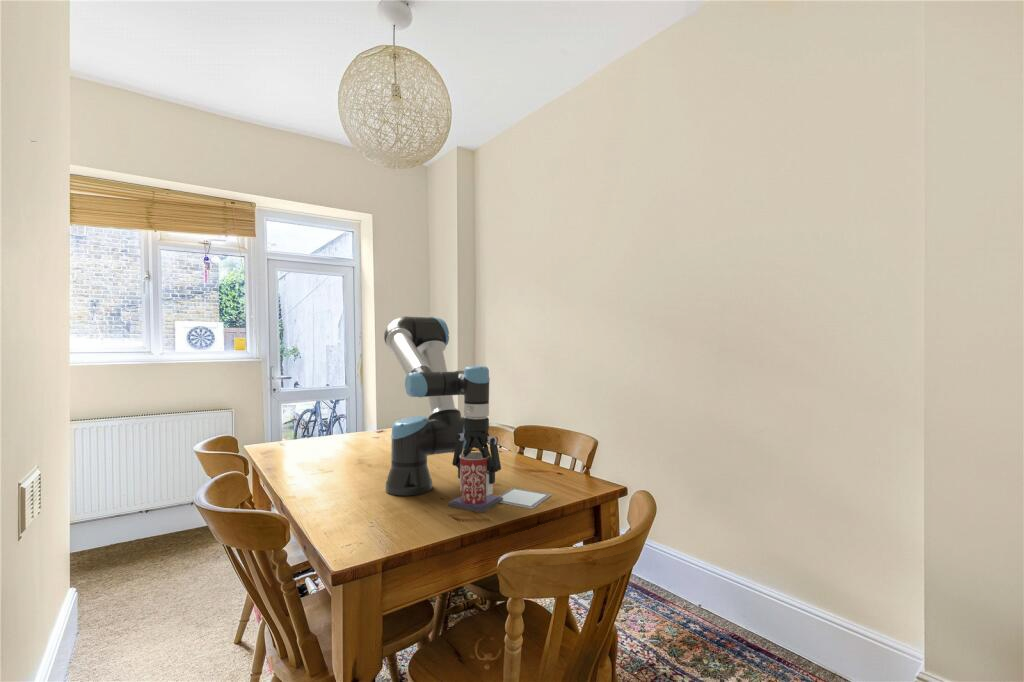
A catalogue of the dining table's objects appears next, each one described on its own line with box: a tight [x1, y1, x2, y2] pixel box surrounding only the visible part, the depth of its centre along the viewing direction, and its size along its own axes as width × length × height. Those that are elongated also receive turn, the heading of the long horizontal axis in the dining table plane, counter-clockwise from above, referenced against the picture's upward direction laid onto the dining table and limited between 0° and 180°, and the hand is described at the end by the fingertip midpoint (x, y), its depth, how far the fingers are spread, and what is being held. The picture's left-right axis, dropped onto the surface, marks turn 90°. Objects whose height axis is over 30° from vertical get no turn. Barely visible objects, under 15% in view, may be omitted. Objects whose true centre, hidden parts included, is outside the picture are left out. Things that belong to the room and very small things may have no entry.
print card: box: [498, 487, 552, 510], centre depth 145 cm, size 14×14×1 cm
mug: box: [459, 451, 490, 504], centre depth 140 cm, size 13×9×14 cm
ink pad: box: [447, 494, 503, 514], centre depth 140 cm, size 12×12×1 cm
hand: (476, 491), depth 140 cm, fingers open, 9 cm apart
